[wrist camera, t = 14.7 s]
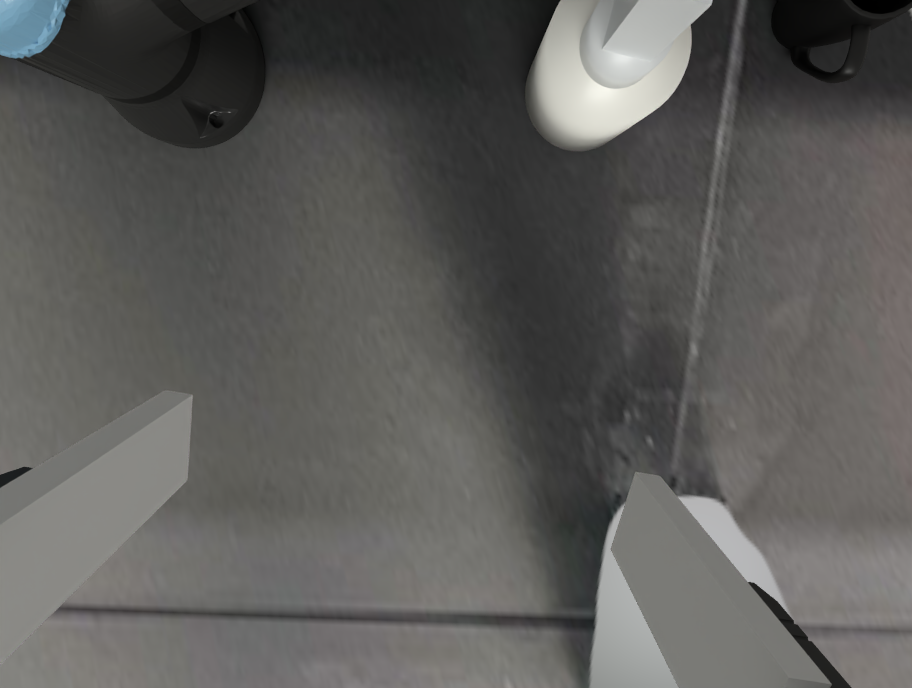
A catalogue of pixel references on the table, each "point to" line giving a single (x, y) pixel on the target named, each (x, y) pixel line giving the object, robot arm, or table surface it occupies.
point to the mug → (831, 29)
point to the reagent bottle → (607, 67)
